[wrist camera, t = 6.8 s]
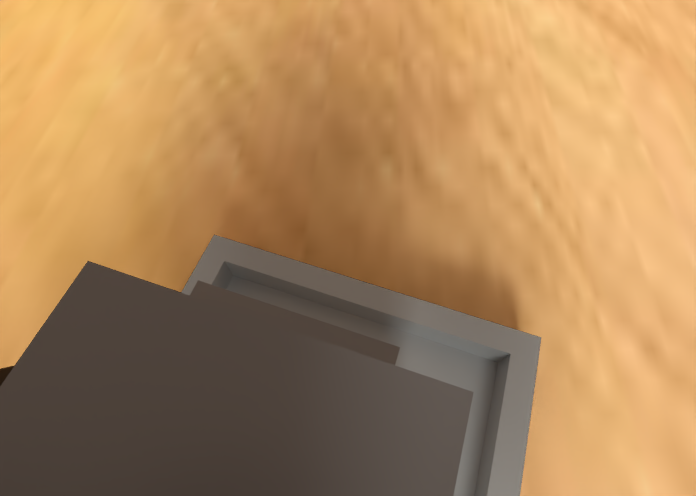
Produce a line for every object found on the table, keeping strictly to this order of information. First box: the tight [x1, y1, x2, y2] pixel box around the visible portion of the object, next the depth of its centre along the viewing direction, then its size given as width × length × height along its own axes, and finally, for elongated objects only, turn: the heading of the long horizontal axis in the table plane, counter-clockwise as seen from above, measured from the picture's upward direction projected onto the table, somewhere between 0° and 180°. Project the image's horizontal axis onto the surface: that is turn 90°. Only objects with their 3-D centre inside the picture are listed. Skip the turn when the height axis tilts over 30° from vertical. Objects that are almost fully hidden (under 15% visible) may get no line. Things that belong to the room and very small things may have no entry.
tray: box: [181, 235, 541, 496], centre depth 15 cm, size 16×14×2 cm
